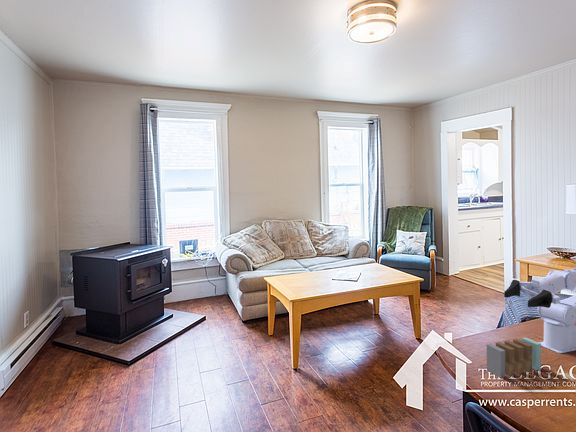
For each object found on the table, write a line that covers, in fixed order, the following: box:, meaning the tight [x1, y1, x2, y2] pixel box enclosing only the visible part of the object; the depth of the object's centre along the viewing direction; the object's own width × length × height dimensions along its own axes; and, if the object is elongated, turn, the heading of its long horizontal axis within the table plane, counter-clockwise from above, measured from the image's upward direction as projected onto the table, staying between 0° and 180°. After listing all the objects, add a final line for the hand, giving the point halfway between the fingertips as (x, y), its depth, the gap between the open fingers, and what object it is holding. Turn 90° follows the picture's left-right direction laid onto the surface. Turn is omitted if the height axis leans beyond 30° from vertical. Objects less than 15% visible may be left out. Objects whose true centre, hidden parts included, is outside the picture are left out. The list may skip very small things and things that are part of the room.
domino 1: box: [495, 341, 515, 377], centre depth 104 cm, size 2×5×8 cm, turn 15°
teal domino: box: [521, 336, 542, 371], centre depth 106 cm, size 2×5×8 cm, turn 16°
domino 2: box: [503, 340, 524, 375], centre depth 105 cm, size 2×5×8 cm, turn 15°
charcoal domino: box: [486, 343, 506, 379], centre depth 103 cm, size 2×5×8 cm, turn 16°
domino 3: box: [512, 338, 533, 373], centre depth 105 cm, size 2×5×8 cm, turn 15°
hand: (516, 299), depth 110 cm, fingers open, 7 cm apart
